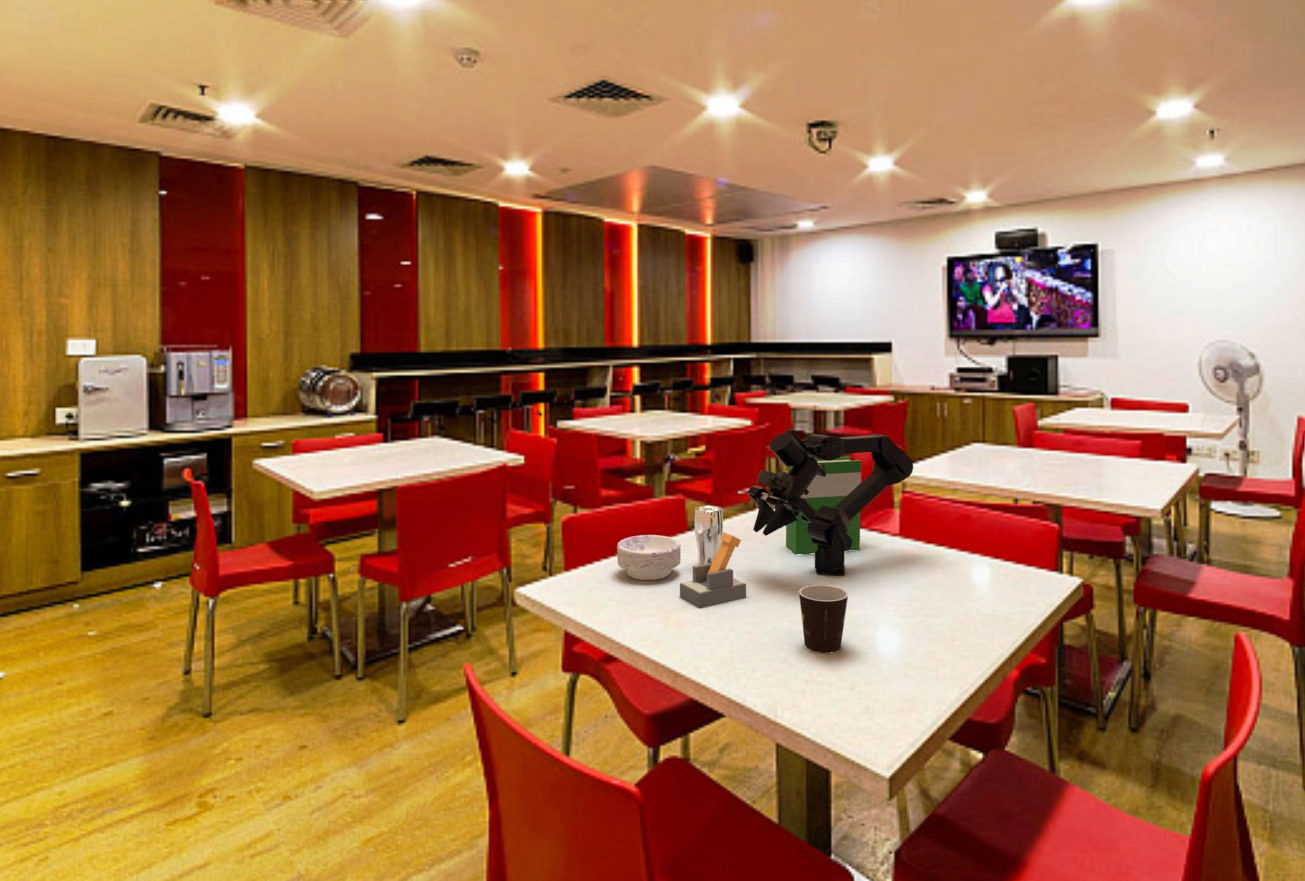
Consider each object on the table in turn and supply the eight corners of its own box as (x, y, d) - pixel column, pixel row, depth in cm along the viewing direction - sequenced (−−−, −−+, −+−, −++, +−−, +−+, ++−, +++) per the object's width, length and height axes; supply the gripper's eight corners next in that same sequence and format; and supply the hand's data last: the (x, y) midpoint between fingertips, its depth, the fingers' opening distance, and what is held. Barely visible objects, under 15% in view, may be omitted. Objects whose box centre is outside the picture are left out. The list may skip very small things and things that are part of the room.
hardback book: (847, 543, 199) (849, 456, 196) (859, 550, 192) (861, 460, 188) (785, 547, 196) (786, 459, 193) (795, 555, 189) (796, 463, 185)
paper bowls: (668, 587, 165) (667, 554, 164) (607, 581, 171) (606, 548, 170) (689, 568, 179) (689, 537, 178) (632, 562, 185) (632, 532, 184)
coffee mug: (809, 632, 138) (810, 582, 137) (853, 642, 133) (854, 590, 132) (783, 654, 129) (784, 600, 127) (830, 666, 124) (831, 609, 123)
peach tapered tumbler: (721, 573, 175) (721, 512, 173) (693, 571, 176) (692, 511, 174) (724, 564, 182) (724, 505, 180) (697, 563, 183) (696, 505, 181)
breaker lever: (711, 581, 160) (731, 536, 162) (720, 586, 157) (741, 540, 158) (702, 577, 159) (723, 532, 160) (711, 582, 156) (732, 535, 157)
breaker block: (725, 586, 165) (725, 559, 164) (746, 597, 158) (746, 568, 157) (680, 596, 159) (679, 567, 158) (699, 607, 152) (699, 577, 151)
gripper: (753, 452, 171) (714, 503, 168) (806, 462, 155) (764, 519, 151) (779, 481, 176) (742, 531, 172) (833, 494, 160) (793, 550, 156)
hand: (759, 532), depth 163 cm, fingers open, 3 cm apart
